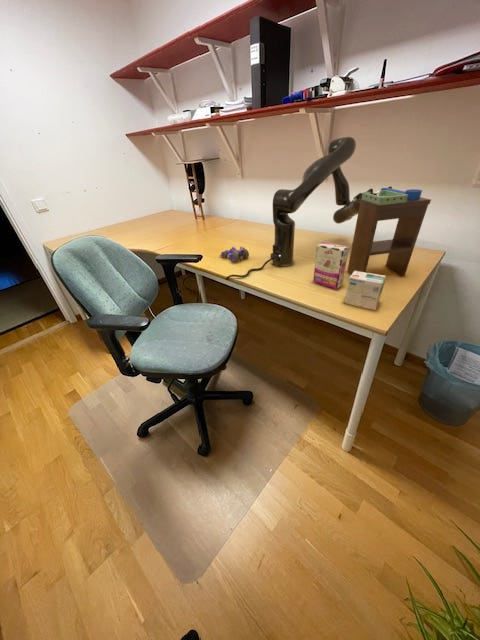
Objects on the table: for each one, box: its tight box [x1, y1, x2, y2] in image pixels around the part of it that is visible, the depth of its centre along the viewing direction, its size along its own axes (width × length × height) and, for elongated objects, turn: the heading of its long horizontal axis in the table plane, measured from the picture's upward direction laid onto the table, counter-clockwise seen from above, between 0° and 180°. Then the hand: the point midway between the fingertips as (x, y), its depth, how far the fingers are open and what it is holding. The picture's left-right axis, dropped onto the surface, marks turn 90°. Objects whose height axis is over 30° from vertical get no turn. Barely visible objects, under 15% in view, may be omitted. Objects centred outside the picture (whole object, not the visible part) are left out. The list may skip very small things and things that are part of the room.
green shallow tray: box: [361, 190, 408, 205], centre depth 93 cm, size 12×10×2 cm
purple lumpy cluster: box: [219, 246, 250, 264], centre depth 136 cm, size 10×15×6 cm, turn 43°
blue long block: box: [380, 187, 423, 200], centre depth 98 cm, size 20×5×3 cm, turn 9°
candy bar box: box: [312, 241, 350, 290], centre depth 102 cm, size 11×5×16 cm, turn 45°
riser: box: [346, 196, 432, 277], centre depth 103 cm, size 12×20×30 cm, turn 99°
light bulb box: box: [344, 271, 387, 311], centre depth 90 cm, size 11×7×11 cm, turn 56°
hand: (381, 189), depth 108 cm, fingers open, 8 cm apart
